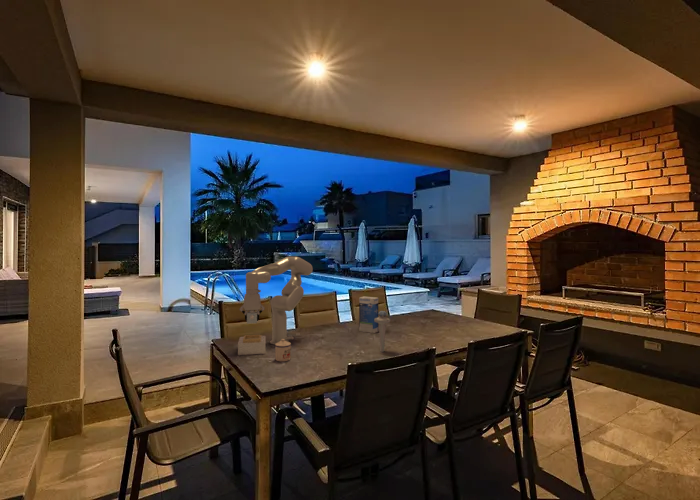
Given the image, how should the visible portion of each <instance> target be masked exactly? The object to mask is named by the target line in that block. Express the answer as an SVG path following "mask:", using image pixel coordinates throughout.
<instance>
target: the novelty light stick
mask: <svg viewBox="0 0 700 500" xmlns="http://www.w3.org/2000/svg"><path fill="white" fill-rule="evenodd" d="M387 315H388V313H387V312H386V311H385V310H380V311H379V310H378V318H375V319H374V321H375V322H377V323H378V330H379V331H378V332H379V333H378V334H379V352H380V353H384V352H385V342H386V328H387V326H386V325H387V324H389V323H391V318H390V317H386V316H387Z"/></svg>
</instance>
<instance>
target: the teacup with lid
mask: <svg viewBox="0 0 700 500" xmlns="http://www.w3.org/2000/svg"><path fill="white" fill-rule="evenodd" d="M274 347H275V349H274V350H275V352H274V353H275V361H277V362H280V363H281V362H288V361H290V360H291V351H292V343H291V342H290V341H289V342H287V341H285V339H281V341H280V342H278V343H276V344H275V345H274Z"/></svg>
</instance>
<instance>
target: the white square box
mask: <svg viewBox="0 0 700 500" xmlns="http://www.w3.org/2000/svg"><path fill="white" fill-rule="evenodd" d="M266 339H267V338H266V335H262V334H248V335H247V334H245V335H243V336H239V339H238V342H237V356H249V355H251V356H252V355H263V354H264V355H265V354H266V349H267V347H266V345H267V342H266Z"/></svg>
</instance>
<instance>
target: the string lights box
mask: <svg viewBox="0 0 700 500" xmlns="http://www.w3.org/2000/svg"><path fill="white" fill-rule="evenodd" d="M358 303H359V304H358V307H359V309H358V310H359V311H358V313H359V315H358V318H359V320H358V321H359V323H358V324H359V327H358V328H359V330H358V331H359V332H364V333H371V334H375V333H378V332H379V323H377V322H375V321H374V319H375V318H378V317H379V315H378V313H379V297H375V296H364V295H363V296H360V297H359V298H358Z"/></svg>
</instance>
